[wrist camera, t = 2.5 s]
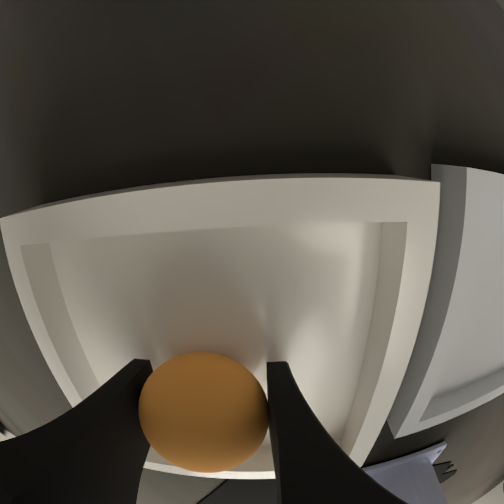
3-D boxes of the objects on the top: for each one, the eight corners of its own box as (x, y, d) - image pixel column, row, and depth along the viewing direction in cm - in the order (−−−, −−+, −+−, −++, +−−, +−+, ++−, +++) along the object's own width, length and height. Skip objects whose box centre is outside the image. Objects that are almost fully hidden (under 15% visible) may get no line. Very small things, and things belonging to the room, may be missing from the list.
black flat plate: (244, 466, 13) (477, 454, 16) (244, 459, 13) (476, 452, 16) (196, 505, 16) (411, 502, 20) (196, 501, 17) (411, 499, 20)
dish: (351, 431, 12) (361, 466, 9) (124, 428, 12) (111, 459, 10) (396, 175, 8) (440, 182, 5) (42, 204, 8) (-1, 218, 6)
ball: (269, 405, 10) (271, 492, 6) (172, 403, 10) (148, 481, 6) (266, 325, 8) (270, 430, 5) (147, 325, 9) (96, 412, 5)
